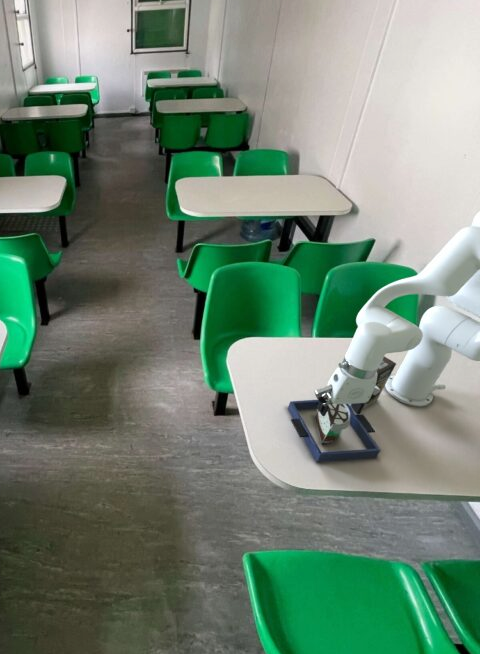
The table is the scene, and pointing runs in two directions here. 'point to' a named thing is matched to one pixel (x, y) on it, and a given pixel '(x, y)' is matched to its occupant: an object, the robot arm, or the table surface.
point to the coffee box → (382, 377)
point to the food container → (332, 422)
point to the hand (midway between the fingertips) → (337, 411)
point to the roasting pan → (361, 429)
